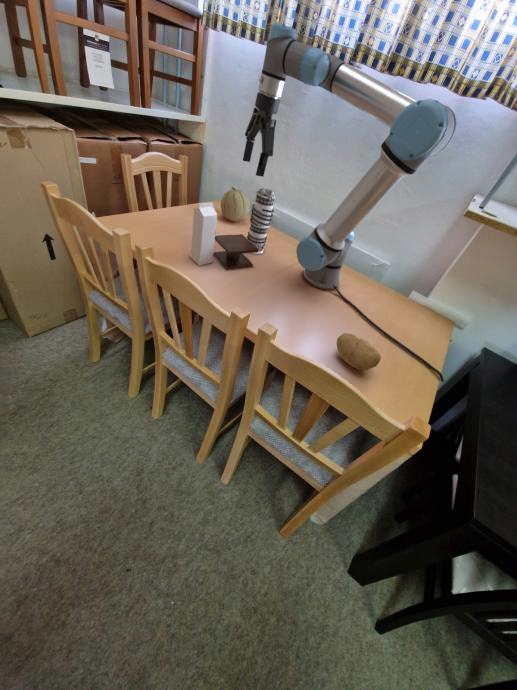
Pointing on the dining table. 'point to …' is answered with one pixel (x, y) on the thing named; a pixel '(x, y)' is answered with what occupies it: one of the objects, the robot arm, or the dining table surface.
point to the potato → (357, 352)
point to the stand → (234, 251)
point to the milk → (203, 233)
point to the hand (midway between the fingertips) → (252, 168)
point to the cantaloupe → (235, 205)
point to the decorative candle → (261, 218)
